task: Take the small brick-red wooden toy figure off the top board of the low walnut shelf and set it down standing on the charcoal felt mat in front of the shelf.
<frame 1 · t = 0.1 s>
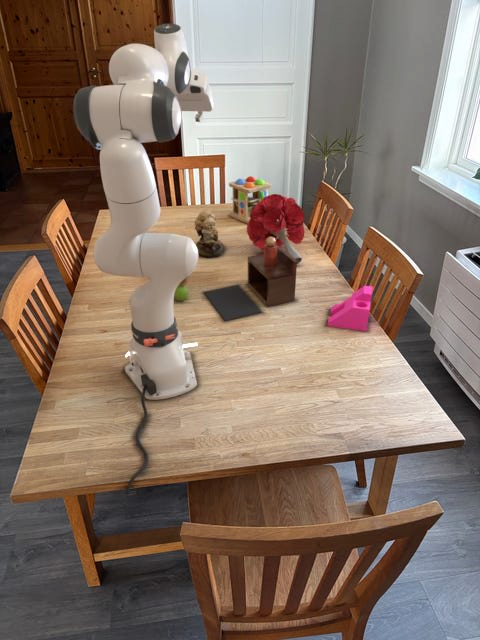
hand: (183, 120, 157), 54 cm above the table, tool tilted 30°, fingers open, 8 cm apart
toy: (269, 264, 168), point 11 cm above the table, touching shelf
shelf: (270, 292, 174), on the table
felt mat: (231, 302, 168), on the table
pounding bench toy: (255, 219, 234), on the table
bracket: (348, 320, 159), on the table
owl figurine: (209, 250, 204), on the table
bouquet: (277, 253, 201), on the table
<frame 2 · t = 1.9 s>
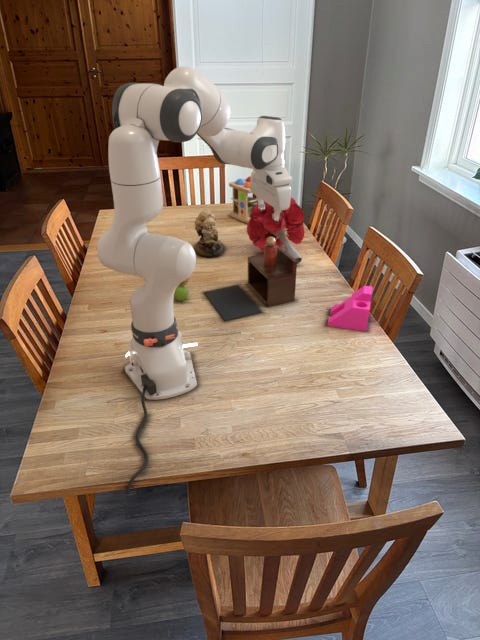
hand: (268, 214, 160), 28 cm above the table, tool pointing down, fingers open, 8 cm apart
nothing on the table moved.
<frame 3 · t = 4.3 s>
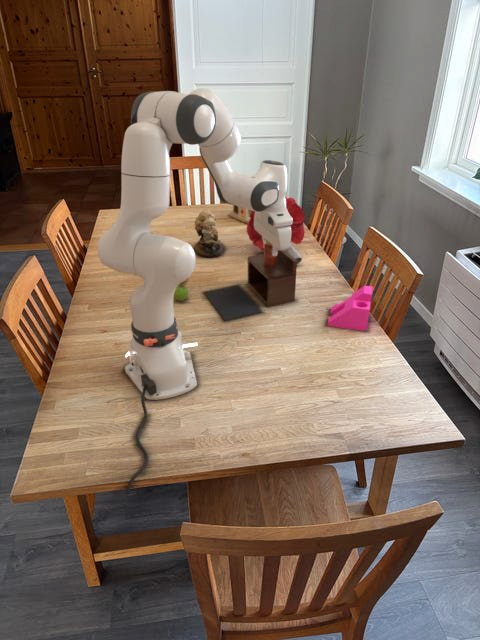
hand: (270, 252, 165), 16 cm above the table, tool pointing down, fingers closed on toy, 4 cm apart
toy: (269, 264, 168), point 11 cm above the table, touching gripper, shelf
everything else where it was.
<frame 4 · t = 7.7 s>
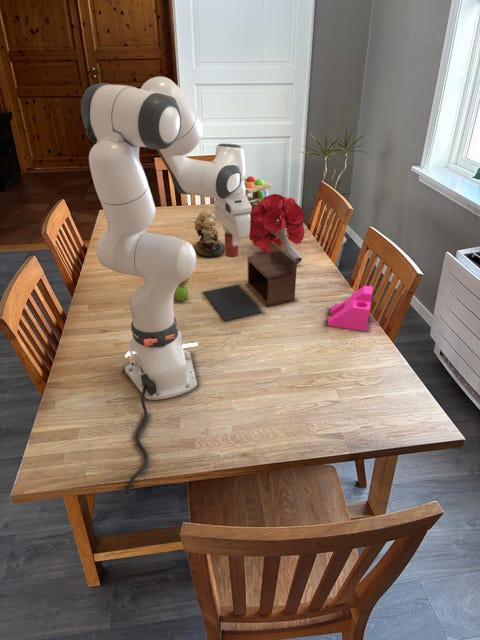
hand: (231, 241, 156), 22 cm above the table, tool pointing down, fingers closed on toy, 4 cm apart
toy: (231, 254, 159), point 18 cm above the table, touching gripper
everything else where it was.
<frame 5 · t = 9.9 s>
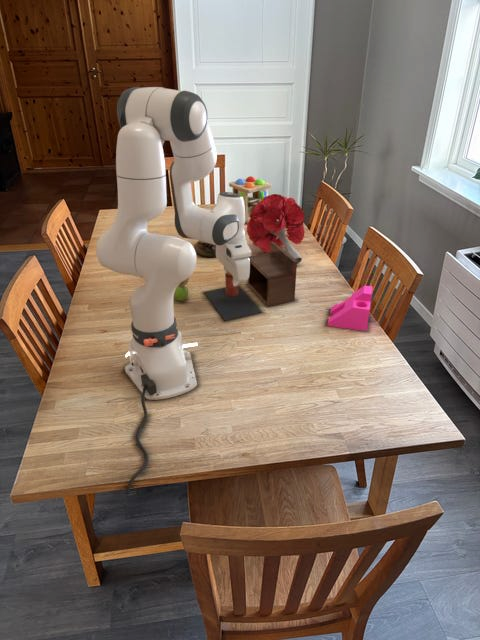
hand: (231, 281, 164), 8 cm above the table, tool pointing down, fingers closed on toy, 4 cm apart
toy: (231, 293, 167), point 3 cm above the table, touching gripper
everything else where it was.
when the fingers open (5 cm above the table, at t = 11.3 s): toy stays where it is, resting on felt mat.
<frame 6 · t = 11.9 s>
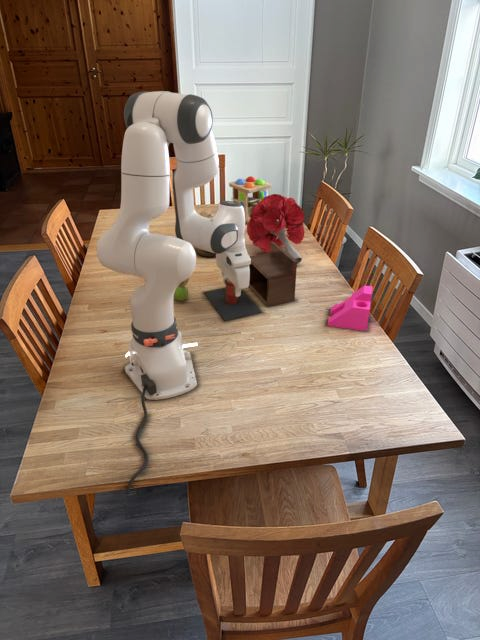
hand: (231, 289, 165), 5 cm above the table, tool pointing down, fingers open, 8 cm apart
toy: (231, 301, 168), resting on felt mat
everything else where it was.
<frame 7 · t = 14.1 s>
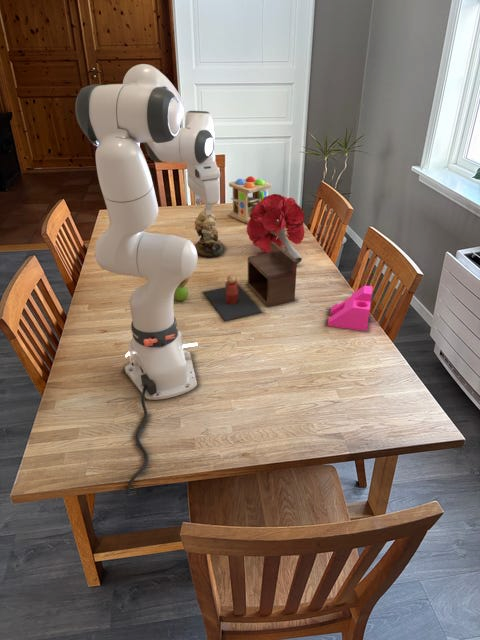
hand: (203, 209, 160), 30 cm above the table, tool pointing down, fingers open, 8 cm apart
nothing on the table moved.
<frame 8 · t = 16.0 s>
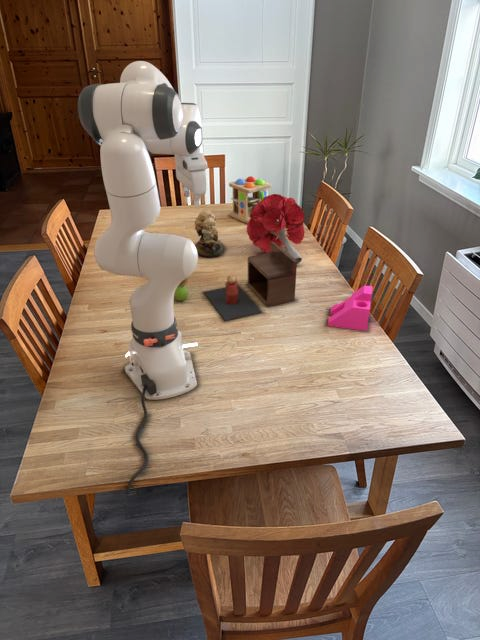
hand: (191, 200, 162), 31 cm above the table, tool pointing down, fingers open, 8 cm apart
nothing on the table moved.
at the end: toy inside the target area on the felt mat (0.2 cm from its centre), point 0.4 cm above the felt mat's base; toy tilted 0°; the gripper is holding nothing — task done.
